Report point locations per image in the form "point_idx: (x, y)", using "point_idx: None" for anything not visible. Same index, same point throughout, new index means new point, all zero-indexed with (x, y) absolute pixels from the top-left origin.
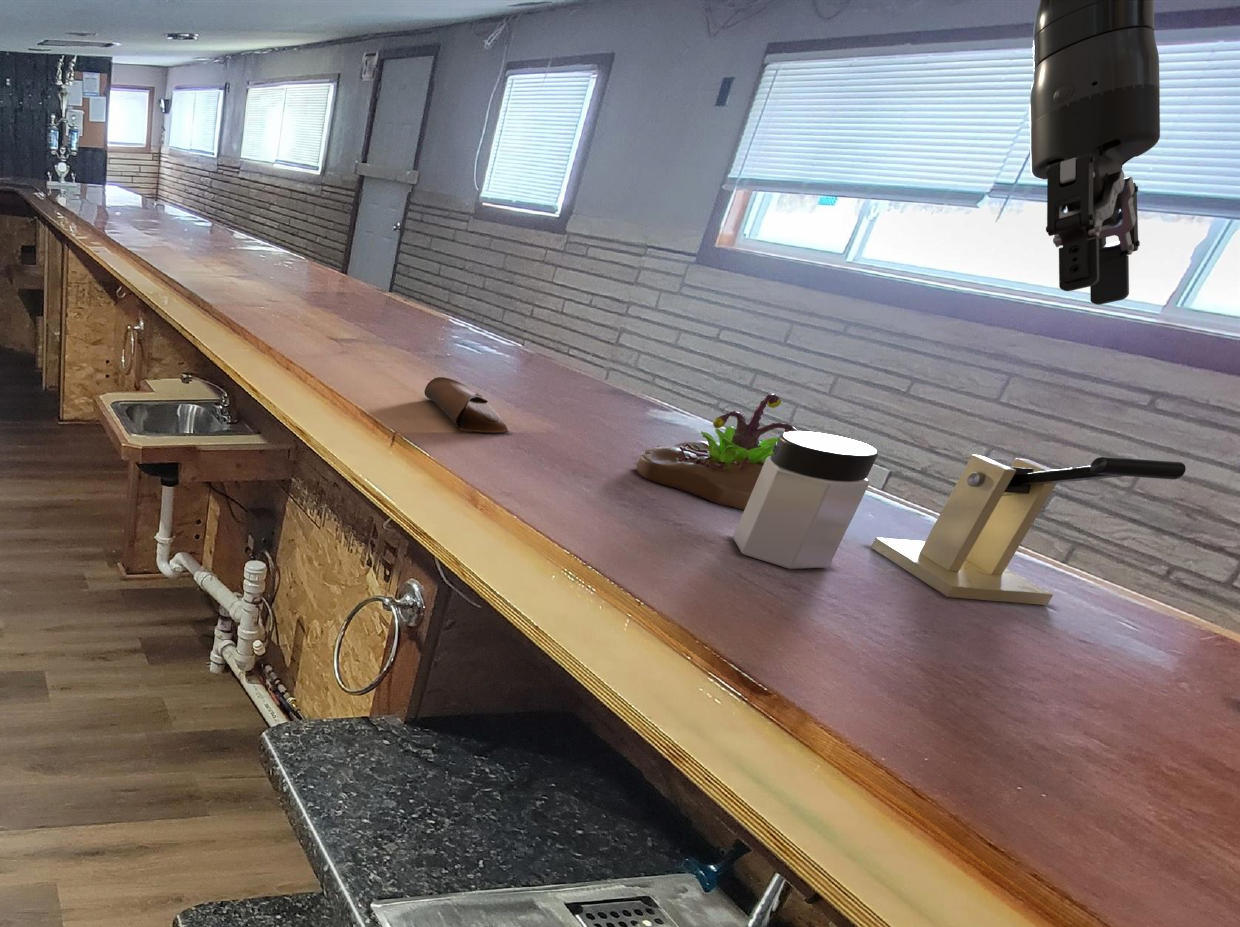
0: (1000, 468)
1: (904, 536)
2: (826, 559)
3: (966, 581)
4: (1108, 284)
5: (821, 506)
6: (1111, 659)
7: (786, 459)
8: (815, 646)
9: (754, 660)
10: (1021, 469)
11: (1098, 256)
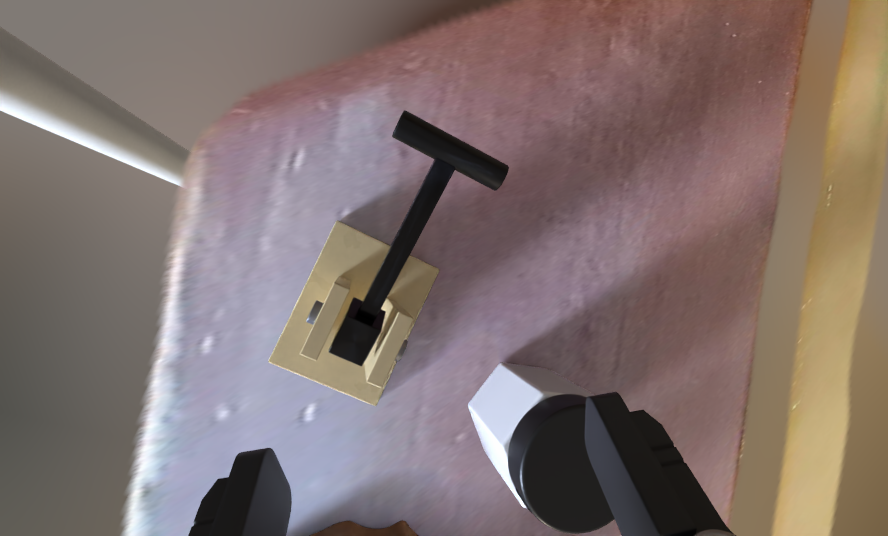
0: (409, 327)
1: (277, 424)
2: (511, 365)
3: (407, 275)
4: (267, 524)
5: (583, 388)
6: None
7: None
8: (681, 229)
9: (753, 226)
10: (365, 321)
11: (635, 464)
